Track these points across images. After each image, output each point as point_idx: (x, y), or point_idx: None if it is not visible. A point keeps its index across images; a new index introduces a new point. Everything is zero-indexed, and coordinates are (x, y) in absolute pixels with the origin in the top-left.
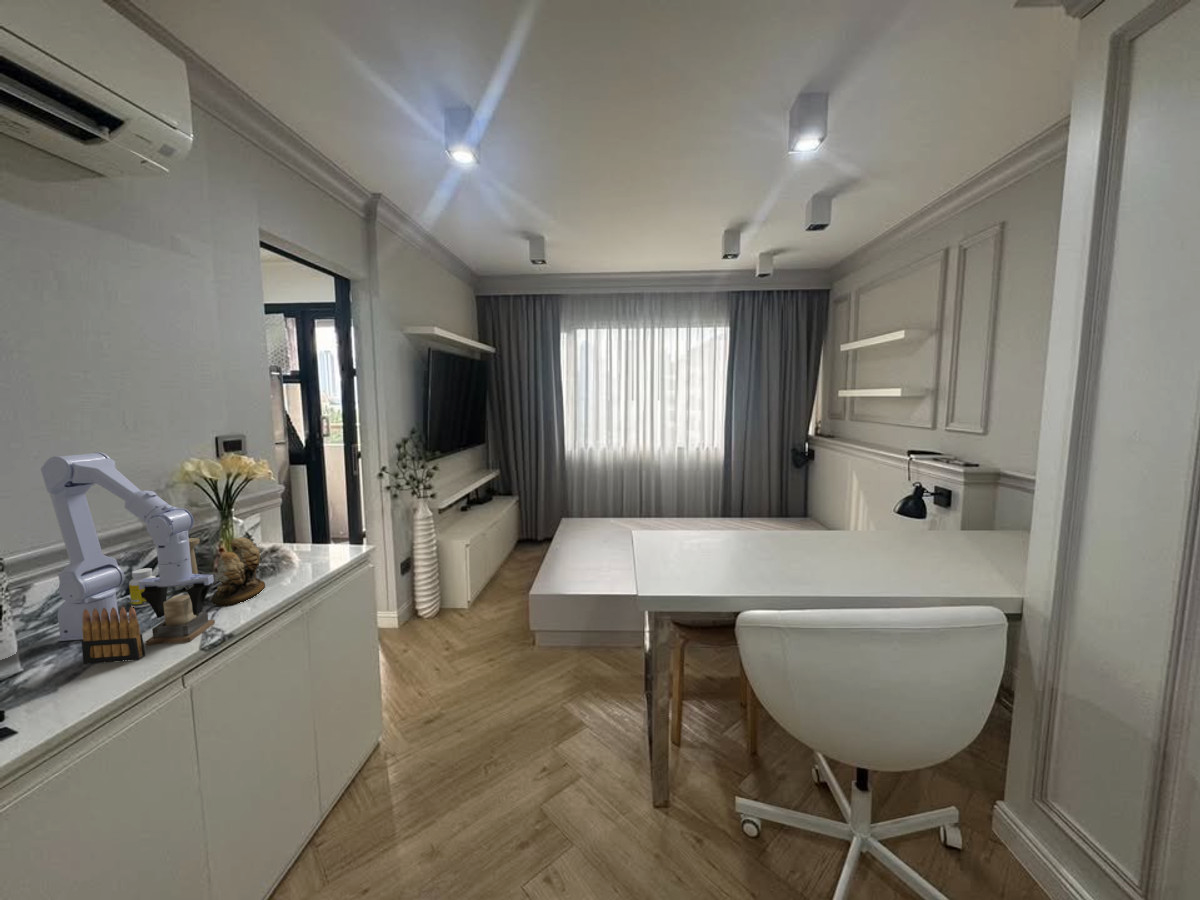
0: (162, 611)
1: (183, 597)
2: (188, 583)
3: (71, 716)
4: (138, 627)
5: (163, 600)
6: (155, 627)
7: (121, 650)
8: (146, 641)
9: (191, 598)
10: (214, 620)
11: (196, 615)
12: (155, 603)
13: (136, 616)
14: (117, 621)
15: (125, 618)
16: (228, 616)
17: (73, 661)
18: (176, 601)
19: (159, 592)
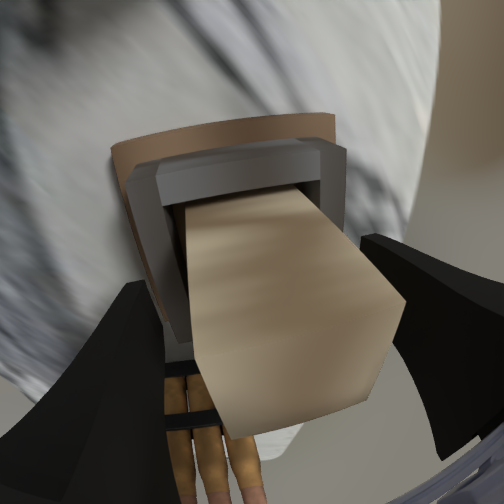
0: (153, 334)
1: (340, 372)
2: (464, 475)
3: (278, 442)
4: (257, 452)
5: (131, 385)
6: (184, 335)
7: (186, 395)
8: (168, 320)
9: (423, 387)
10: (332, 115)
11: (293, 179)
12: (165, 438)
13: (261, 491)
14: (195, 490)
15: (230, 497)
16: (339, 37)
17: (58, 373)
18: (325, 414)
19: (153, 498)
